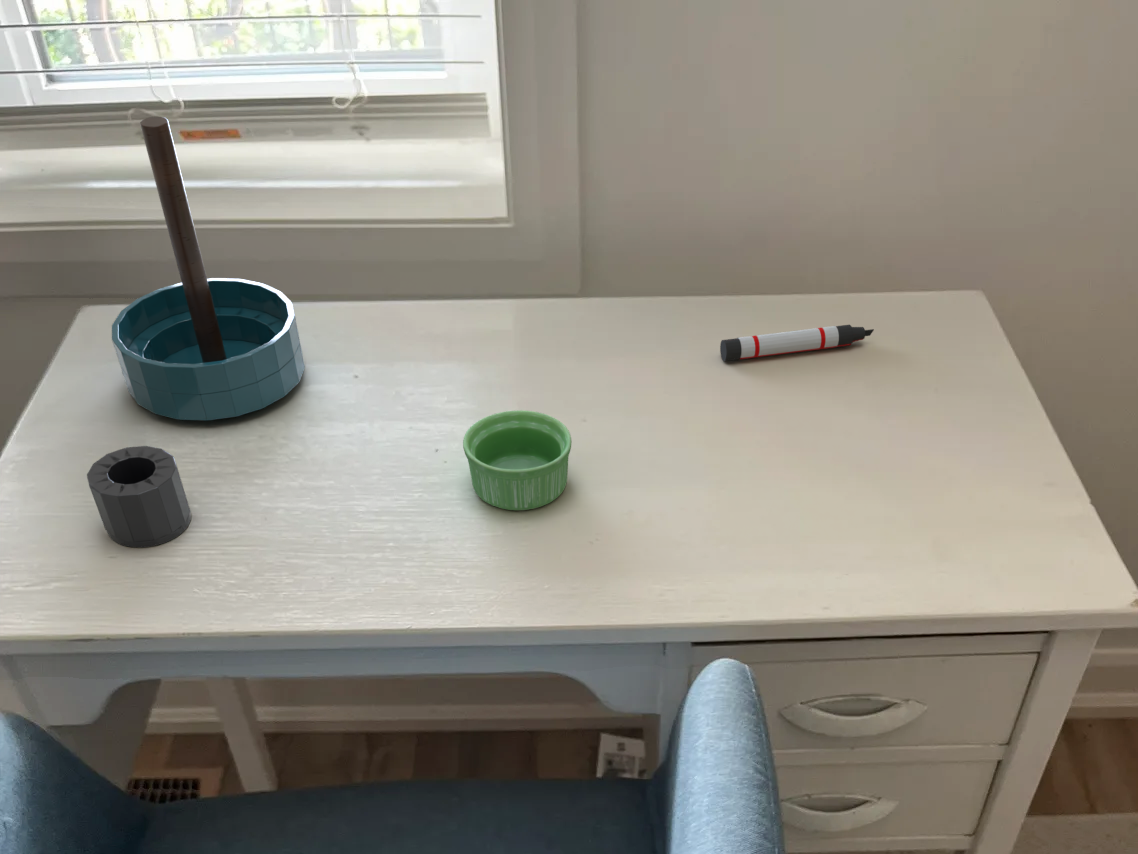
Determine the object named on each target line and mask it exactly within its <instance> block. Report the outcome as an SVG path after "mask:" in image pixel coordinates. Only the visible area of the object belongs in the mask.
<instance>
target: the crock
mask: <svg viewBox="0 0 1138 854" xmlns="http://www.w3.org/2000/svg"><path fill="white" fill-rule="evenodd" d="M86 478H87V482H88V487H89V489H90V492H91V494H92V498H93V500H94V502H95V506H96V508H97V510H98V513H99V517H100V519H101V522H102V524H103V527H104V529H105V531H106V534H107V535H108V537H109V538H110V539H111V540H112V541H113V542H115V543H117V544H118V545H121V546H125V547H128V548H149V547H155V546H160V545H163V544H165V543H168V542H171V541H172V540H174V539H175V538H177V537H179V536H180V535H182V534H183V533H184V532H185V531H186V530H187V528H188V527H189V526H190V523H191V520H192V513H191V509H190V504H189V501H188V498H187V495H186V492H185V488H184V485H183V482H182V479H181V476H180V472H179V469H178V465H177V462H176V459H175V457H174V455H173V454H171V453H169V452H168V451H166V450H165V449H163V448H160V447H155V446H151V445H150V446H149V445H139V446H138V445H137V446H127V447H123V448H120V449H117V450H115V451H114V450H113V451H112V452H108V453H106V454H105V455H103V456H102V457H100V458H99V459H98V460H96V461H94V462H93V463H92V465H91V466H90V468H89V470H88V471H87V473H86Z"/></svg>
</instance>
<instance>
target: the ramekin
mask: <svg viewBox="0 0 1138 854" xmlns="http://www.w3.org/2000/svg"><path fill="white" fill-rule="evenodd" d="M462 441H463V442H462V448H463V451H464V455H465V457H466V459H467V463H468V467H469V473H470V479H471V484H472V487H473V490H474V492H475V494H476V496H477V497H479V498H480V499H481V500H482V501H483V502H485V503H486V504H489V505H490V506H493V507H496V508H499V509H502V510H508V511H526V510H527V511H529V510H534V509H538V508H540V507H543V506H546V505H549V504H550V503H552V502H553V501H555V500H557V498H559V497H560V496H561V495H562V493H563V492H564V490H565V488H566V487H567V486H566V485H567V481H568V471H569V470H568V469H569V455H570V452H571V449H572V435H571V433H570V431H569V429H568V427H567V426H566V425H565V424H564V423H563V422H561V421H560V420H559V419H557V418H556V417H553V416H551V415H549V414H547V413H546V414H545V413H542V412H539V411H532V410H522V409H521V410H517V409H516V410H505V411H500V412H497V413H493V414H490V415H487V416H485V417H483V418H481V419H478V421H476V422H475V423H472V425H470V427H469V428H468V429H467V431H466V432H465V433H464V437H463V440H462Z"/></svg>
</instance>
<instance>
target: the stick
mask: <svg viewBox="0 0 1138 854" xmlns="http://www.w3.org/2000/svg"><path fill="white" fill-rule="evenodd" d="M139 126H140V130H141V133H142V137H143V141H144V146H145V148H146V152H147V157H148V159H149V164H150V168H151V171H152V174H153V178H154V183H155V186H156V190H157V195H158V198H159V202H160V205H161V209H162V213H163V217H164V221H165V224H166V229H167V232H168V236H169V239H170V243H171V247H172V251H173V255H174V258H175V262H176V266H177V270H178V273H179V278H180V282H181V283H182V285H183V289H184V293H185V297H186V300H187V304H188V308H189V312H190V316H191V319H192V323H193V327H194V331H195V335H196V338H197V342H198V346H199V350H200V354H201V357H202V361H203V363H207V362H214V361H222V360H225V359H227V358H226V354H225V349H224V345H223V341H222V337H221V333H220V329H219V325H218V321H217V317H216V313H215V309H214V305H213V301H212V297H211V293H210V289H209V285H208V281H207V279H208V277H207V273H206V269H205V268H206V267H205V264H204V261H203V256H202V253H201V248H200V245H199V240H198V235H197V233H196V228H195V225H194V220H193V216H192V212H191V208H190V204H189V199H188V196H187V192H186V188H185V183H184V180H183V175H182V172H181V166H180V163H179V159H178V155H177V151H176V147H175V144H174V143H175V142H174V139H173V135H172V132H171V126H170V123H169V120H168V119H167V117H165V116H149V117H146V118H143V119H141V121H139Z"/></svg>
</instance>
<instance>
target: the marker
mask: <svg viewBox="0 0 1138 854" xmlns="http://www.w3.org/2000/svg"><path fill="white" fill-rule="evenodd" d="M874 331H875V329H874V328H871V329H866V328H865V327H863V326H852V325H851V324H843V325H831V326H830V325H829V326H822V327H821V326H820V327H814V328H805V329H799V330H789V331H782V332H781V331H780V332H773V333H766V334H764V333H763V334H757V335H756V334H755V335H748V336H739V337H736V338H729V339H728V338H727V339H721V341H720V345H719V352H720V357H721V360H722V361H723V362H725V361H733V360H746V359H753V358H763V357H769V356H777V355H778V356H779V355H785V354H794V353H801V352H810V351H818V350H825V349H834V348H837V347H847V346H851V345H853V343H855V342H858V341H863V340H864V339H865V338H866V337H870V336H871V335H872V333H874Z"/></svg>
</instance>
